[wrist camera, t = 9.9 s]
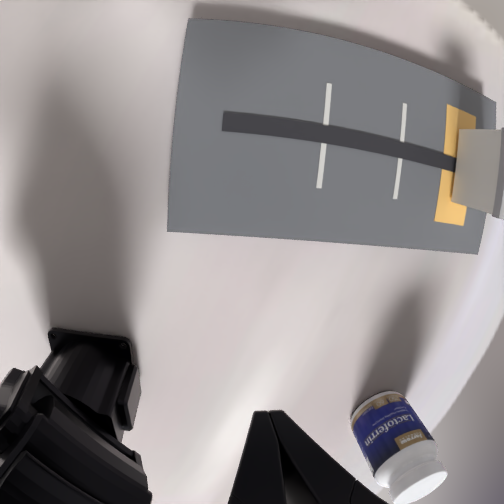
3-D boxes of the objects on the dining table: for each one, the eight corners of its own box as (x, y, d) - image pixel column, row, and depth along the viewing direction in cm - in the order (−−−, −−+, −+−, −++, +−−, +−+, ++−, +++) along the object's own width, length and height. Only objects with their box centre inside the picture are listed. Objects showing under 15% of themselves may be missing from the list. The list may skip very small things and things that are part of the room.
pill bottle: (393, 378, 24) (450, 457, 15) (409, 406, 26) (457, 476, 16) (338, 415, 25) (378, 503, 15) (361, 438, 26) (398, 514, 17)
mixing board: (170, 225, 18) (166, 231, 17) (190, 28, 15) (188, 17, 13) (465, 248, 21) (478, 254, 20) (483, 103, 18) (496, 102, 16)
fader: (449, 203, 18) (499, 218, 13) (458, 127, 16) (508, 127, 12) (478, 209, 18) (525, 224, 14) (486, 139, 17) (534, 143, 12)
